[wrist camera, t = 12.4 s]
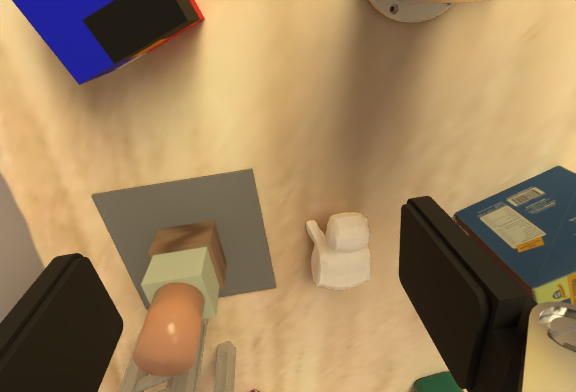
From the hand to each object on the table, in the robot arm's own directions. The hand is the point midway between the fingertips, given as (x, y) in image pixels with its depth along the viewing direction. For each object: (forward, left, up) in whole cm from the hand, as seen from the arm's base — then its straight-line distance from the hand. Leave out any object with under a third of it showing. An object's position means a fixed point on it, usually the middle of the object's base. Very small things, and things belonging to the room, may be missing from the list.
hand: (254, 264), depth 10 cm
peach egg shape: (+12, +20, -20) cm, 31 cm away
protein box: (-34, +24, -31) cm, 52 cm away
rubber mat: (+12, +20, -30) cm, 38 cm away
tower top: (+12, +20, -25) cm, 34 cm away
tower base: (+12, +20, -30) cm, 38 cm away
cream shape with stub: (-8, +22, -31) cm, 39 cm away
